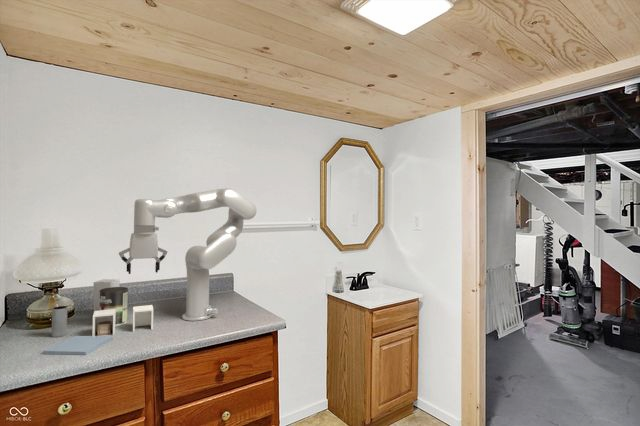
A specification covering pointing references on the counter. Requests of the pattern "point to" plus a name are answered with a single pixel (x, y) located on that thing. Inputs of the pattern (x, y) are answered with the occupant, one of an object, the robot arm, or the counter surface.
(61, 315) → the grey cylinder
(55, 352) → the slate board
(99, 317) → the white box
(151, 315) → the plain white cube box
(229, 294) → the counter surface
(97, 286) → the skincare box
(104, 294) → the coffee can
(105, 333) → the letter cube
